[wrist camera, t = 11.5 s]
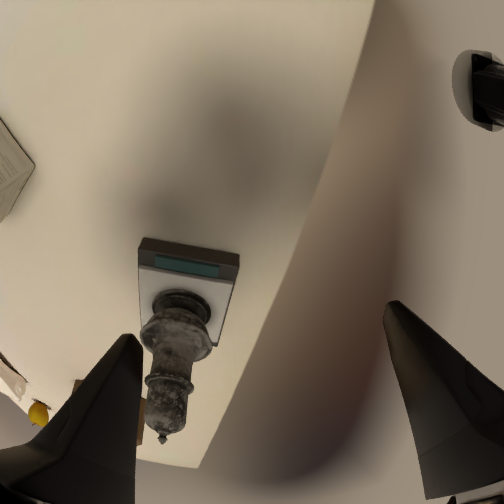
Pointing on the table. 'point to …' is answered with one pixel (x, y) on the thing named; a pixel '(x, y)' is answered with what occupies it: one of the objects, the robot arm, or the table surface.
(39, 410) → the apple
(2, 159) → the white packaging box
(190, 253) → the kitchen scale
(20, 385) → the wall bracket
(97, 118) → the table surface
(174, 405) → the pepper mill
